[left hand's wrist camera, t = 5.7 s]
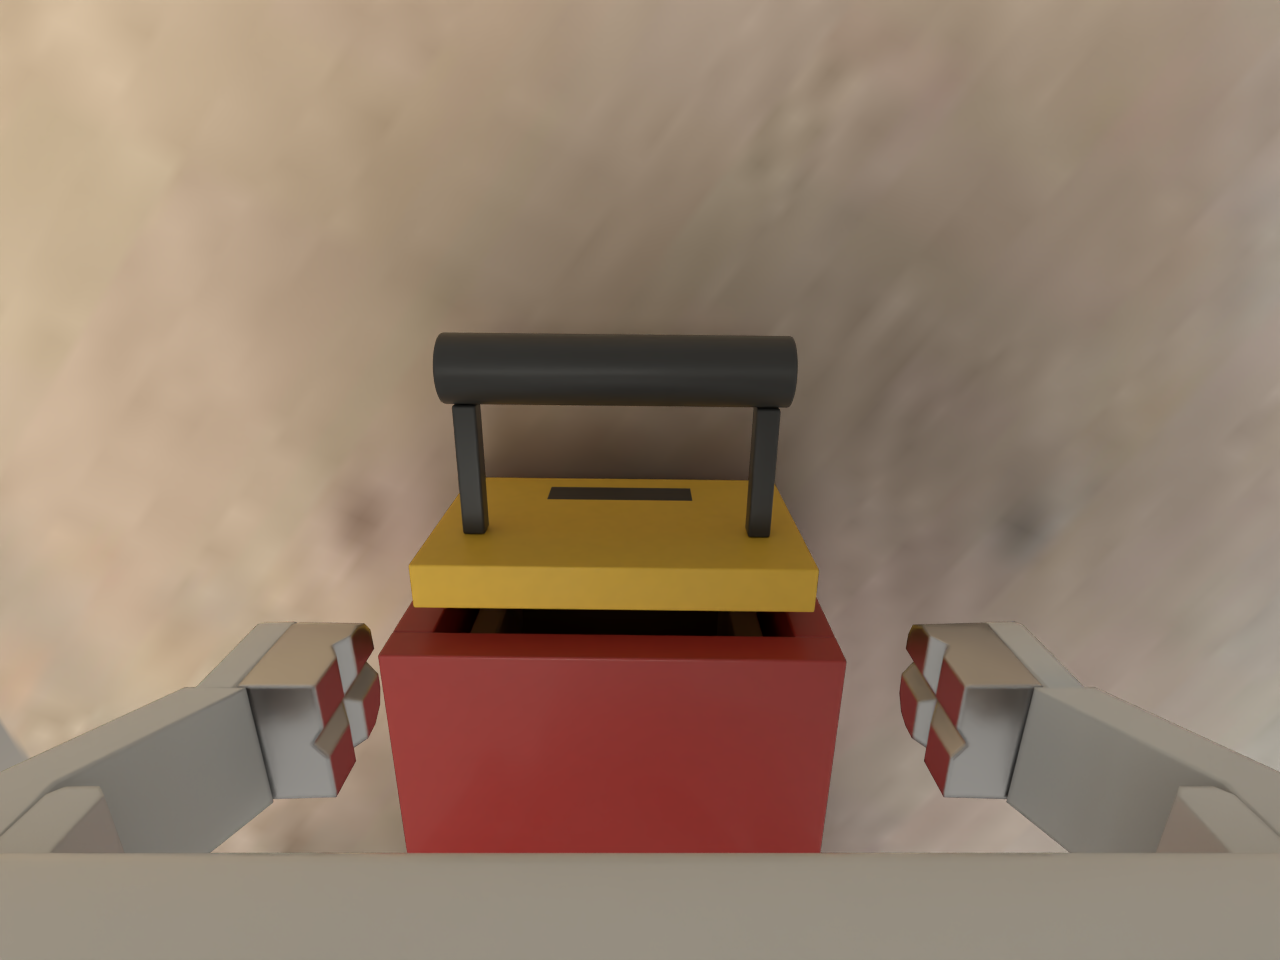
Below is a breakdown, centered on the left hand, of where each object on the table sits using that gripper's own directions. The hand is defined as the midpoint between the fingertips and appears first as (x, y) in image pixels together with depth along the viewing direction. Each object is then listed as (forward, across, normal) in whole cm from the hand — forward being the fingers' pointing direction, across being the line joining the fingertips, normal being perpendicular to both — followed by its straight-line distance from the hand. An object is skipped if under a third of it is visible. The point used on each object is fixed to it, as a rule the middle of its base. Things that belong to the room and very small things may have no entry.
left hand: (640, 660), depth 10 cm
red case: (+13, -1, -13) cm, 18 cm away
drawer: (+12, -1, -7) cm, 14 cm away
